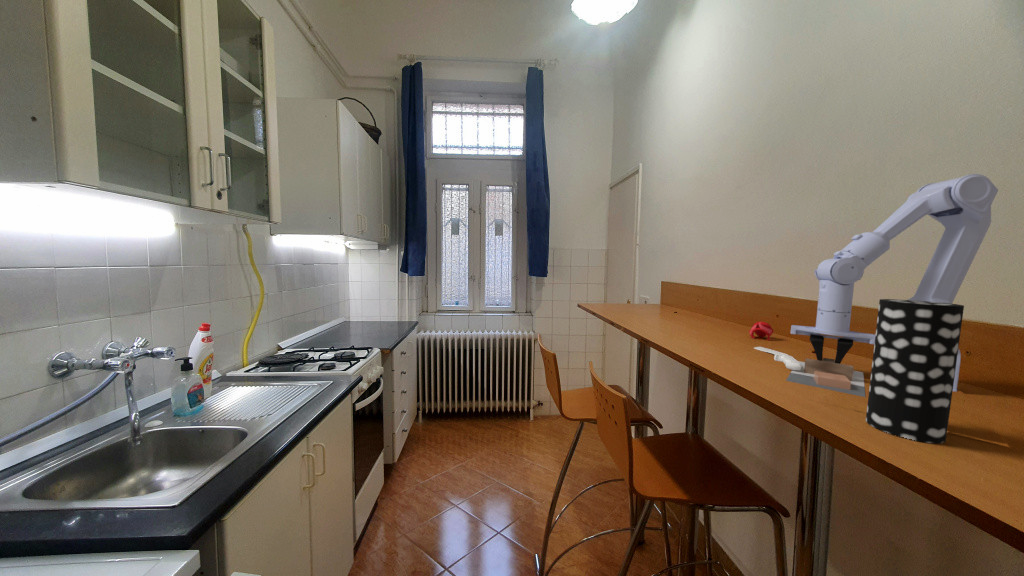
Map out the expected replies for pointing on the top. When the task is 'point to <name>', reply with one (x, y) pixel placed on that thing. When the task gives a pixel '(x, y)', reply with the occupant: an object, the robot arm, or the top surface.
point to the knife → (783, 358)
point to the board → (808, 379)
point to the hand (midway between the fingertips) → (827, 369)
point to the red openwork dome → (761, 330)
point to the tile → (832, 380)
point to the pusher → (828, 367)
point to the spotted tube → (914, 368)
